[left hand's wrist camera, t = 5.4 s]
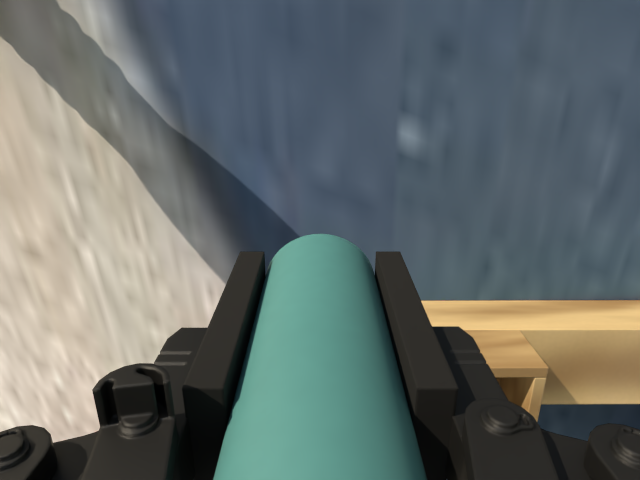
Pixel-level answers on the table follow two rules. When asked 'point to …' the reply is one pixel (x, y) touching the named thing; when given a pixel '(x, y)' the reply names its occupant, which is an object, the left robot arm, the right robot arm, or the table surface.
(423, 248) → the table surface
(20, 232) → the table surface
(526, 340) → the peg board
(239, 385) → the peg
